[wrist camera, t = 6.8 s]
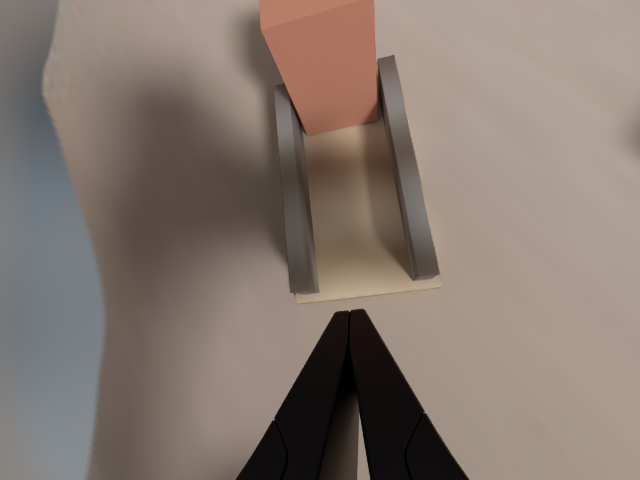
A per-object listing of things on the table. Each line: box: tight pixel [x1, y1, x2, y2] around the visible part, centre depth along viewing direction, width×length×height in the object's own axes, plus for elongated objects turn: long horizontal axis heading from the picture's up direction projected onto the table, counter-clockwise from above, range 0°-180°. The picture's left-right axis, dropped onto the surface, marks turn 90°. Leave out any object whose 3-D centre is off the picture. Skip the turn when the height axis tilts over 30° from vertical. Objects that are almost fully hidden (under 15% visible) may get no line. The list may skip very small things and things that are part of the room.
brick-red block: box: [259, 0, 378, 136], centre depth 17 cm, size 5×5×8 cm
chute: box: [274, 55, 443, 304], centre depth 19 cm, size 16×9×4 cm, turn 6°
